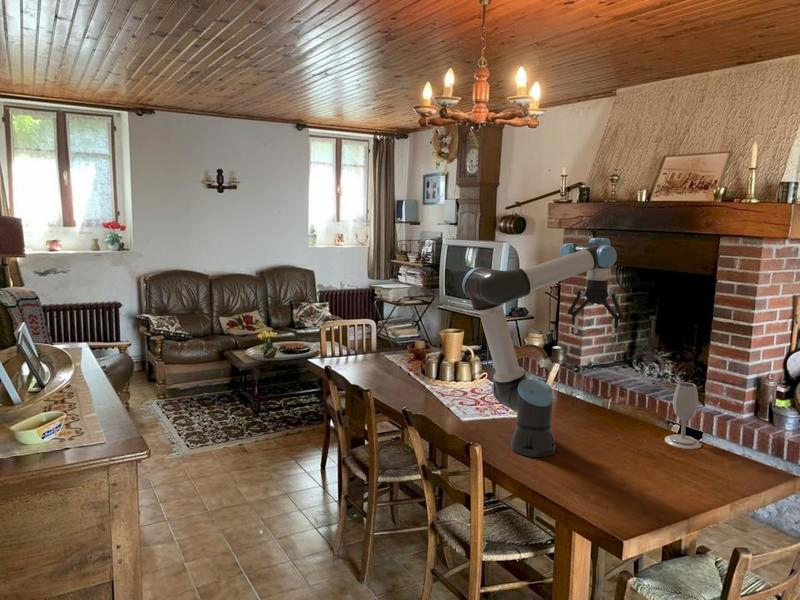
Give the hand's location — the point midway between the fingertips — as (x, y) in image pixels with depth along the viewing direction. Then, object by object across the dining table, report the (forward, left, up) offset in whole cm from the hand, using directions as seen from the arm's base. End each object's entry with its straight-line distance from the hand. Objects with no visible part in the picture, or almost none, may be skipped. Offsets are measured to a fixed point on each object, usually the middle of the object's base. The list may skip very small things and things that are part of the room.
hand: (594, 334), depth 227 cm
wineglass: (+21, -25, -36) cm, 49 cm away
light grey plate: (+21, -25, -36) cm, 49 cm away
